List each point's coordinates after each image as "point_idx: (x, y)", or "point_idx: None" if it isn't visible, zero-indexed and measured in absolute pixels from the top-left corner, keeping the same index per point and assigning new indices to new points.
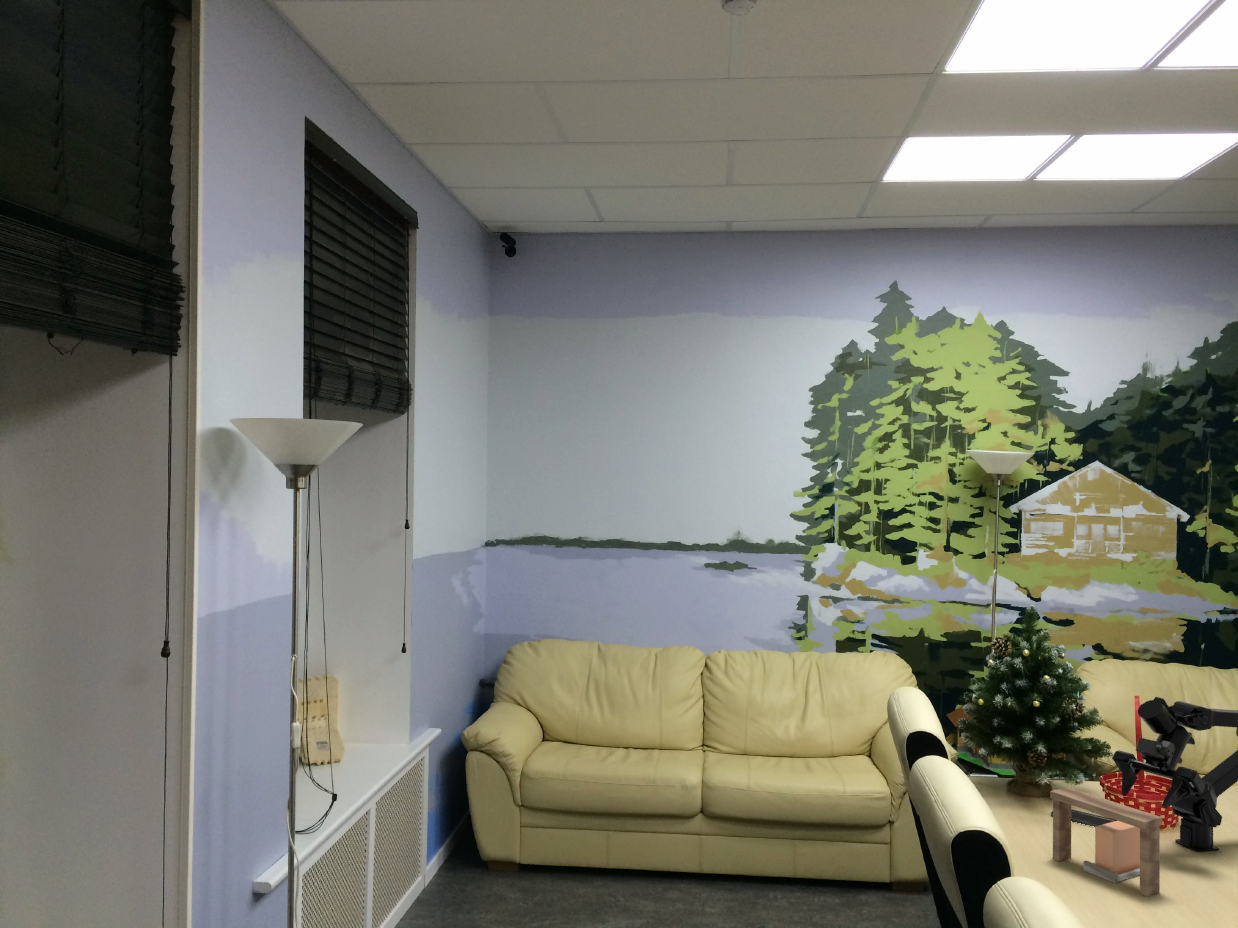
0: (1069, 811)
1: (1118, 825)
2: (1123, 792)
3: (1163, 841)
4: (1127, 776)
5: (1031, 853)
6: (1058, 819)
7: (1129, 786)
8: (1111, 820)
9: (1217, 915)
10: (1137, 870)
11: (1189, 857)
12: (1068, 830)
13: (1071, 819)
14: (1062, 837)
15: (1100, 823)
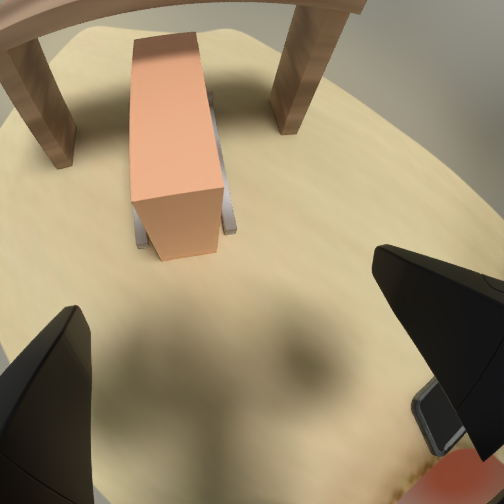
0: (312, 37)
1: (168, 87)
2: (382, 249)
3: (315, 495)
4: (491, 303)
5: (317, 88)
6: (292, 22)
7: (428, 335)
8: (450, 439)
9: None
10: None
11: (193, 475)
12: (295, 76)
13: None
14: (283, 69)
15: (446, 396)
